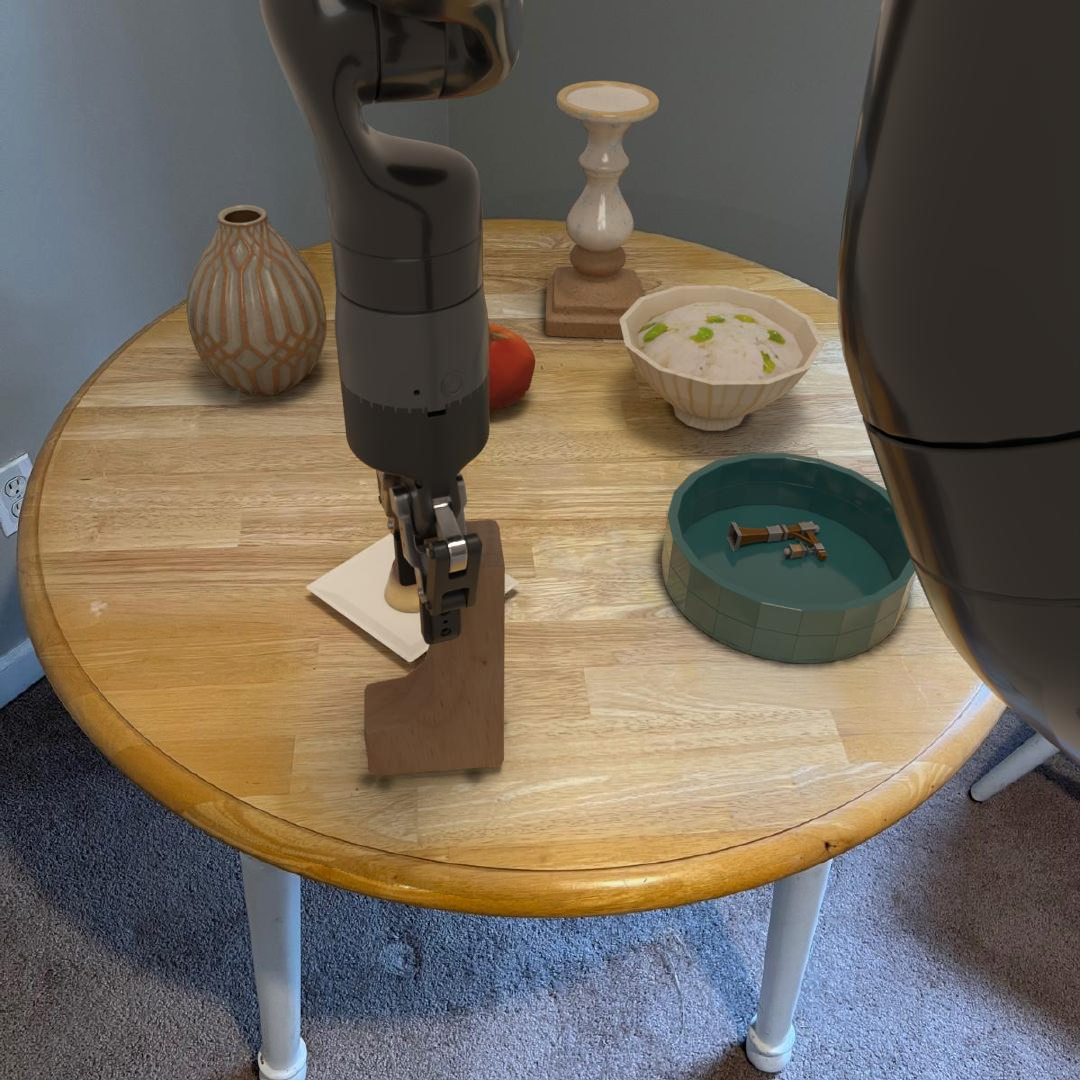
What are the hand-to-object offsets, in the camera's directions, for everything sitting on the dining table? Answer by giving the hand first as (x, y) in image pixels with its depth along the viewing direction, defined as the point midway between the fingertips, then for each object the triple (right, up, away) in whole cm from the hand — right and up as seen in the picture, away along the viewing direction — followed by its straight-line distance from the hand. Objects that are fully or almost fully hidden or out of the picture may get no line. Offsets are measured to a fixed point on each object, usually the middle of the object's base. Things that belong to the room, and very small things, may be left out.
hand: (428, 607), depth 66 cm
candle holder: (+13, +29, +58) cm, 66 cm away
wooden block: (0, -10, +9) cm, 14 cm away
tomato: (+2, +18, +43) cm, 47 cm away
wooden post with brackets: (+26, +3, +25) cm, 36 cm away
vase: (-21, +20, +45) cm, 54 cm away
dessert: (-3, 0, +21) cm, 22 cm away
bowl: (+24, +17, +43) cm, 52 cm away
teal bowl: (+27, +1, +24) cm, 36 cm away
